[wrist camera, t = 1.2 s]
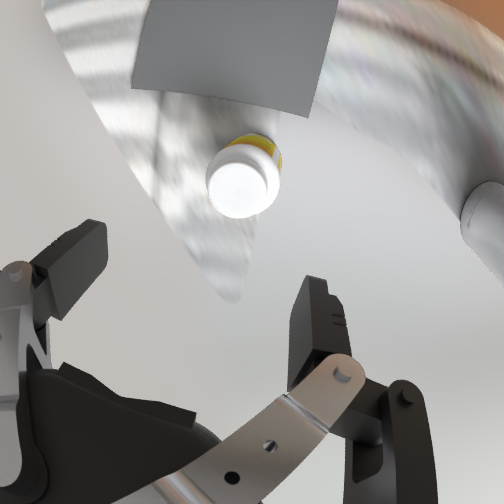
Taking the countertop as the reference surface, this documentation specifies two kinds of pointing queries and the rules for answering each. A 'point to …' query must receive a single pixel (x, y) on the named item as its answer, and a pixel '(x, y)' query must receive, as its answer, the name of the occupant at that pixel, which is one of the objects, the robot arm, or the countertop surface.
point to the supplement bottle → (244, 176)
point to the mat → (236, 50)
